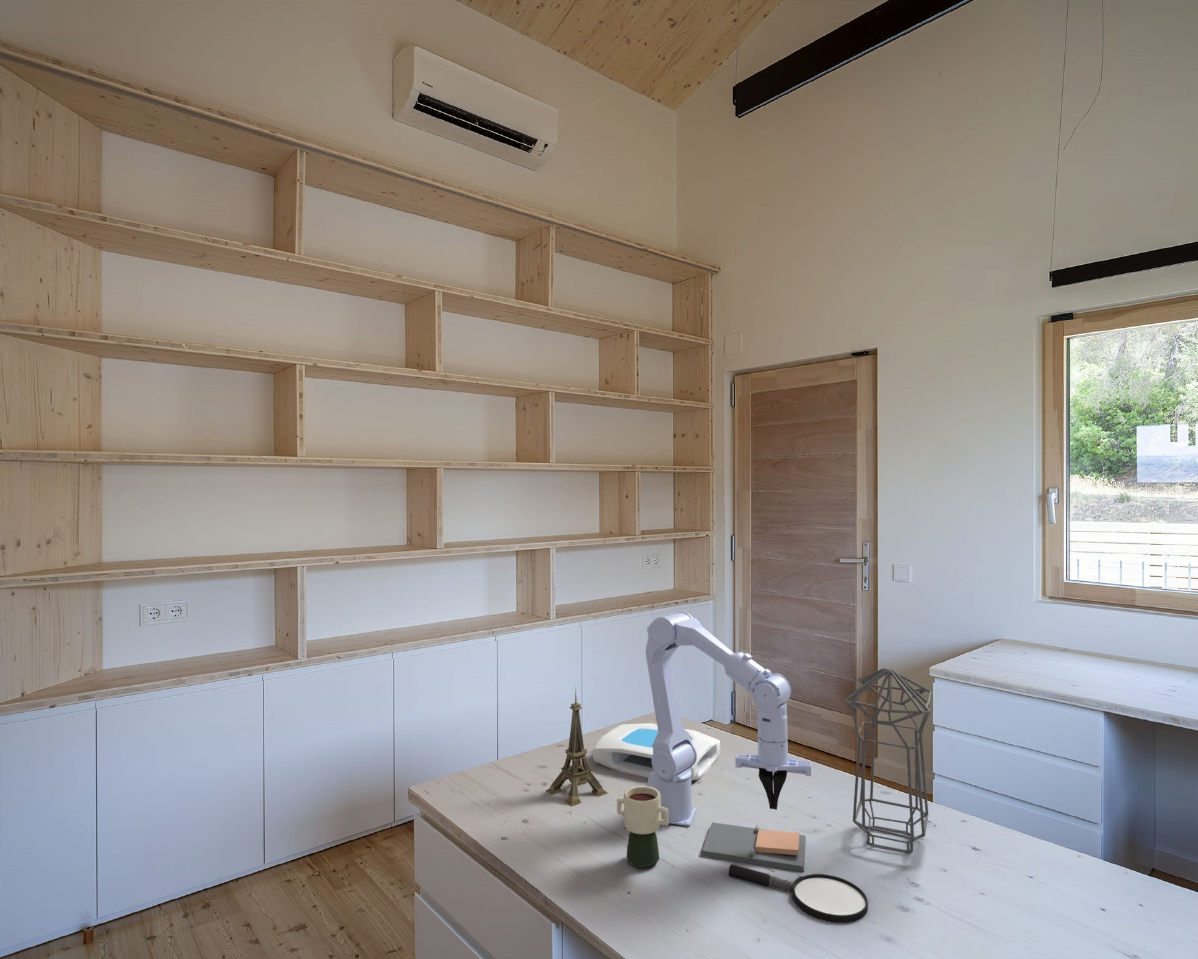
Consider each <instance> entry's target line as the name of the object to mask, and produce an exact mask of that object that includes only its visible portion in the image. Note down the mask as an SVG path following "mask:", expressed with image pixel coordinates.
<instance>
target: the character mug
mask: <svg viewBox="0 0 1198 959" xmlns="http://www.w3.org/2000/svg"><path fill="white" fill-rule="evenodd" d="M622 805H623V806H622ZM622 808H623V809H622ZM616 812H617V814H618V815H619V816H623V822H624V825H625V829H626V830H627V831H628V832H629V833H628V839H627V848H626V859H627V861H628V863H630V865H632V866H635V867H639V868H644V867H646V868H647V867H650V866H653V865H655V864H656V863H657V862H659V860H660V851H659V844H658V836H657V833H656V832H657V830H659V829H660V826H661V825H662V826H669V824H670V823H669V811H668V809H667V808H665V807H661V796H660V793H659V791H658V790H657V789H655V788H652V787H648V785H639V786H638V785H637V786H633V787H629V788H628V789H626V790H625V791H624V793H623V797H618V798H617V799H616ZM661 812H663V813H664V820H663V819H661Z"/></svg>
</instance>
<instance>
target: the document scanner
mask: <svg viewBox="0 0 1198 959" xmlns="http://www.w3.org/2000/svg"><path fill="white" fill-rule="evenodd" d="M684 729H685V730H686V731H687V732H688V733H689V734H690V738H691V741H692V744H693V745H694V747H695V749H696V752H697V760H696V763H695V764H694V765H693V766H692V772H691V782H692V781H698V780H701V779H702V778H703V777H704V776H705V775H706V774H707V773H708V771H710V769H711V768H712V767H713V766H714V765H715V764H716V762H717V760H718V758H719V756H720V755H721V740H719V739H717V738H715V737H713V736H709V735H707V734H704V733H702V732H699V731H697V730H693V729H687V728H684ZM657 733H658V727H657V723H651V722H650V723H649V722H648V723H629V724H628V723H624V724H619V725H617V726H616V727H614V728H613V729H611V730H610V731H608V732H607V733H605V734H604V735H602V736H601V737H600V738H599V739H598V740H597V742H596V744H595V745H594V746H593V748H592V751H593V752H592V758H593V761H594V762H596V763H598V764H601V765H602V766H604V767H606V768H609V769H610V770H613V771H616V772H622V773H626V774H632V775H635V776H641V777H645V778H649V775H650V773H651V772H654V770H653V767H652V766H647V765H640V764H637V763H632V762H628V761H624V760H625V759H627V758H628V757H629V756H631V755H632V756H638V757H643V758H649V759H652V756H653V746H652V745H653V742H654V740H655V738H656V736H657ZM714 763H715V764H714ZM712 765H713V766H712ZM709 768H710V769H709ZM704 774H705V775H704ZM702 776H703V777H702Z"/></svg>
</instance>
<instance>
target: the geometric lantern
mask: <svg viewBox="0 0 1198 959" xmlns="http://www.w3.org/2000/svg"><path fill="white" fill-rule="evenodd" d="M883 677H884V678H883ZM892 677H893V678H894V680H895V682H896V683H897V685H898V686H892ZM882 678H883V681H882V683H881V685H880V684H876V682H878V681H879V680H880V679H882ZM858 683H861V684H862V685H861V686H859V684H858ZM886 683H887V686H886ZM909 683H910V684H912V685H914V686H916V687H918V688H914V687H913V686H911V685H910V684H909ZM851 684H854V688H855V691H854V690H852V693H851V694H849V696H848V697H847V698H846V699H845V700H844V702H846V703H847V704H848V705H850V708H851V711H852V717H853V722H854V728H855V733H856V737H857V752H856V764H855V765H856V766H855V780H854V796H853V798H854V799H853V811H852V823H854V824H855V825H856V826H857V827H858V828H859V829H861V830H862V831H863V832H864V833H865V834H866V835H867V838H866V844H868V845H870V846H873V847H878V848H884V849H887V850H888V849H889V850H894V851H899V852H904V853H908V854H909V853H911V852H913V851H914V842H916V841H917V840H919V839H921V838H925V837H926V833H927V825H928V821H929V806H928V804H929V803H928V792H927V782H926V780H927V779H926V768H925V758H924V757H925V756H924V744H923V733H924V729H925V726H926V722H928V719H929V717H930V714H931V709H930V705H931V701H932V697H933V696H932V695H933V691H932V690H930V689H928V688H926V687H924V686H923V685H921V684H920V683H918V682H915V681H914V680H912V679H910V678H908V677H906V676H905V675H903V674H902V673H900V672H898V671H896V670H895V669H893V668H891V667H889V668H883V667H882V668H880V669H878V670H876V671H874V672H872V673H869V674H867V675H865V676H863V677H860V678H858V679H856V680H853V681H852V682H851ZM874 687H876V688H879V691H878V690H876V689H875V688H874ZM868 690H870V691H872V692H873V693H875V694H876V699H875V701H874V703H873V704H871V703H866V702H865V703H864V702H860V697H861V696H862V695H863V694H864V693H865V692H866V691H868ZM884 690H886V696H884V694H882V693H883V691H884ZM892 690H897V691H901V693H900V694H901V695H900V701H897V700H893V697H892V696H893V695H892ZM926 692H927V693H928V695H927V699H925V697H923V696H922V694H924V693H926ZM904 694H906V695H907V697H908V698H907V699H905V700H904ZM881 698H882V699H883V701H882V703H881V704H880V707H877V706H878V703H879V701H880V699H881ZM909 702H912V703H913V705H914V706H915V707H916V709H917V710H911V709H910V710H909V709H908V708H907V706H906V704H907V703H909ZM917 702H918V703H917ZM886 703H888V709H886V708H883V707H884V706H885V705H886ZM893 704H895V705H898V706H899V705H900V706H903V707H904V709H893ZM920 706H921V707H922V708H921V707H920ZM863 707H867V708H871V709H872V714H873V715H872V714H870V713H869V712H868V711H867V710H866V709H864V708H863ZM855 709H858V710H860V711H861V712H862V714H863V715H864V717H865V719H866V720H867V721H862V722H861V725H860V727H859V726H858V722H857V717H856V711H855ZM923 709H924V710H923ZM881 712H884V713H887V716H888V720H878V716H879V714H880V713H881ZM891 713H895V714H908V715H905V716H903V717H900V718H896V719H895V720H892V718H891ZM920 715H923V717H922V720H921V723H920V725H919V727H918V725H917V723H916V722H915V720H914V717H917V716H920ZM868 718H870V719H871V721H870V720H869V719H868ZM908 719H911V720H912V723H913V724H914V726H915V727H914V726H907V725H900V724H897V723H900V722H904V721H906V720H908ZM868 725H872V728H871V729H870V730H869V731H868ZM878 725H883V726H891V727H892V728H893V729H894V731H895V732H896V733H897V735H898V736H899V738H900V740H901V742H902V743H903V745H901V744H894V743H890V742H883V741H878V740H876V727H877V726H878ZM863 726H864V727H863ZM863 728H864V729H863ZM899 728H902V729H903V728H904V729H910V730H911V729H912V730H914V745H908V744H907V741H906V740H905V739H904V737H903V735H902V733H901V732H900V731H899V730H898V729H899ZM862 729H863V736H862V735H860V733H861V731H862ZM870 734H871V739H867V738H868V737H869V735H870ZM868 742H869V743H871V756H870V757H871V761H870V762H871V764H870V765H871V766H870V785H869V786H870V793H869V797H867V798H866V751H867V750H866V749H867V743H868ZM875 744H880V745H885V746H886V745H887V746H892V747H897V748H903V749H906V765H907V766H906V767H907V780H908V781H907V783H908V784H907V785H908V800H909V801H908V802H909V805H908V804H903V803H897V802H892V801H889V800H888V801H887V800H882V799H877V798H874V794H873V793H874V773H875V772H874V770H875V747H876V746H875ZM919 749H920V750H919ZM910 750H914V779H915V781H914V789H915V790H914V791H915V792H914V794H915V795H914V798H915V799H914V800H915V804H914V806H913V794H912V792H913V790H912V774H911V771H912V769H911V754H910ZM860 757H861V778H860V779H861V780H860V793H859V794H860V795H859V801H858V792H859V791H858V787H859V773H860ZM920 763H921V765H920ZM921 773H922V774H921ZM921 775H922V777H921ZM921 778H922V779H921ZM922 786H923V787H922ZM922 788H923V790H922ZM922 792H923V793H922ZM923 796H924V797H923ZM923 799H924V800H923ZM923 801H924V804H923ZM866 802H869V807H870V812H871V815H870V813H869V812H868V809H867V808H866ZM872 802H876V803H880V804H885V805H890V806H894V807H895V806H896V807H899V808H900V807H901V808H904V809H909V819H908V821H904V820H900V819H899V820H897V819H891V818H885V817H877V816H875V814H874V810H873V803H872ZM857 803H858V805H857ZM924 809H925V810H924ZM860 810H861V821H862V822H859V821H858V820H857V819H858V816H859V812H860ZM916 811H918V812H919V815H920V817H919V818H918V819H917V820H916V821H914V815H915V813H916ZM866 814H867V816H868V825H866ZM871 820H872V821H871ZM875 820H881V821H888V822H892V823H901V824H905V830H901V829H897V828H890V827H885V826H878V825H875V822H876V821H875ZM871 822H872V824H871ZM919 822H920V826H921V834H919V835H916V836H915V831H914V830H915V829H914V828H915V827H914V826H915V825H916V824H918V823H919ZM909 827H910V828H909ZM909 829H910V830H909ZM871 831H874V832H875V831H876V832H878V833H883V834H887V835H890V836H895V837H899V838H903V839H908V841H906V840H902V839H896V838H891V837H888V836H882V835H876V834H872V833H871ZM909 831H910V832H909ZM897 832H899V833H897ZM906 834H907V835H906ZM875 838H878V839H882V840H888V841H893V842H897V843H903V844H906V848H907V849H903V848H898V847H892V846H886V845H883V844H876V843H875Z"/></svg>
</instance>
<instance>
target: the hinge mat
mask: <svg viewBox="0 0 1198 959" xmlns="http://www.w3.org/2000/svg"><path fill="white" fill-rule="evenodd" d="M759 830H764V829H762V828H760V825H755V828H754V827H747V826H740V825H733V824H727V823H719V822H711V824H710V828H709V830H708V833H707V836H706V839H705V842H704V843H703V847H702V850H701V852H702V854H701V855H702V857H707V858H714V859H715V858H716V859H720V860H721V859H722V860H726V861H727V860H728V861H733V862H734V861H735V862H739V863H746V864H750V865H751V864H752V865H758V866H759V865H760V866H764V867H770V868H771V867H772V868H777V869H784V870H789V871H796V872H802V873H804V872H805V871H804V870H805V858H806V855H805V854H806V842H807V841H806V839H807V838H806V835H803V834H800V844H799V855H789V854H776V853H763V852H756V848H755V846H756V841H757V836H758V831H759Z"/></svg>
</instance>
